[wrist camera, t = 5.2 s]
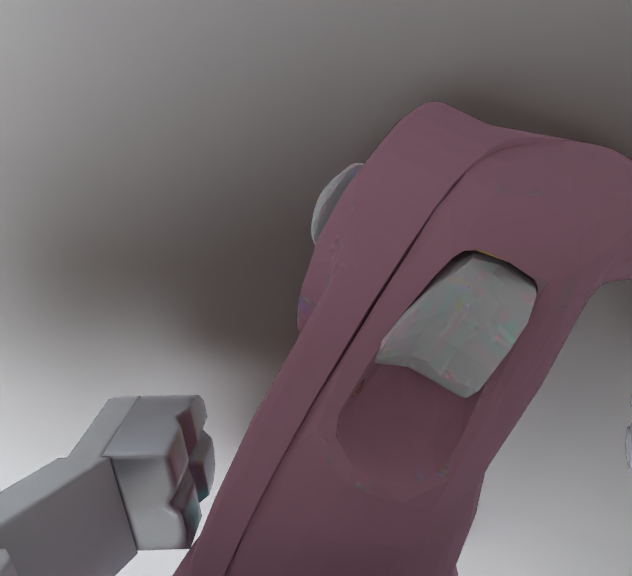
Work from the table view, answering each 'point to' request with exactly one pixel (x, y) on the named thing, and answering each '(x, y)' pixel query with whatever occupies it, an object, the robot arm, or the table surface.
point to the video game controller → (417, 346)
